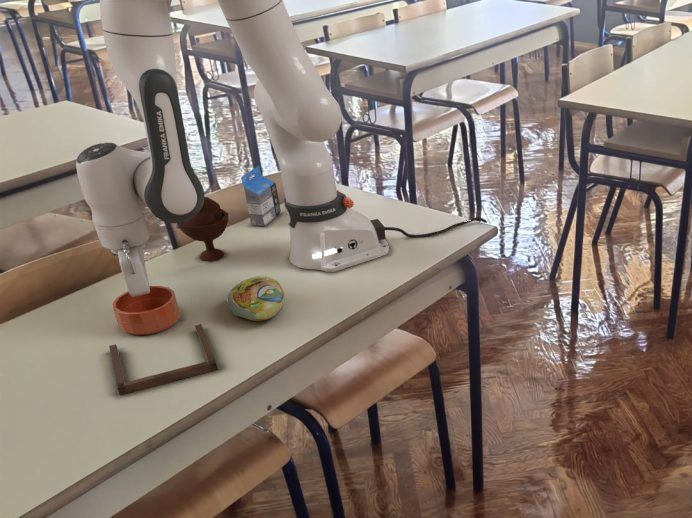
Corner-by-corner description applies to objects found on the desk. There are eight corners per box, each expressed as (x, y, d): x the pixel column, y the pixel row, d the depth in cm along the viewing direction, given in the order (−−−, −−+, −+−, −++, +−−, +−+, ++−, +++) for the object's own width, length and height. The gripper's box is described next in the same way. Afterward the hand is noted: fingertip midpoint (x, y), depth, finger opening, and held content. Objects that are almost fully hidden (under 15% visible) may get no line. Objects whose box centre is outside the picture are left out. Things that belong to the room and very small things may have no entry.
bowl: (178, 302, 156) (171, 281, 153) (184, 328, 148) (177, 305, 145) (119, 315, 152) (111, 293, 149) (122, 341, 144) (114, 319, 141)
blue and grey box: (265, 227, 187) (255, 178, 179) (250, 225, 187) (240, 177, 180) (282, 213, 194) (273, 166, 186) (268, 212, 194) (258, 164, 187)
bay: (203, 330, 147) (201, 323, 146) (218, 369, 136) (216, 362, 135) (111, 353, 141) (108, 345, 140) (119, 395, 130) (117, 388, 129)
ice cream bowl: (223, 268, 168) (206, 204, 160) (177, 264, 170) (159, 200, 162) (245, 248, 177) (231, 186, 168) (202, 244, 179) (186, 183, 170)
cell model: (286, 277, 159) (284, 284, 145) (284, 314, 161) (281, 324, 147) (232, 272, 157) (224, 278, 142) (230, 309, 158) (222, 319, 144)
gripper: (145, 249, 138) (165, 315, 146) (137, 210, 153) (156, 271, 161) (107, 256, 136) (130, 322, 144) (103, 215, 151) (124, 277, 159)
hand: (144, 295), depth 153 cm, fingers closed, pressing on bowl
